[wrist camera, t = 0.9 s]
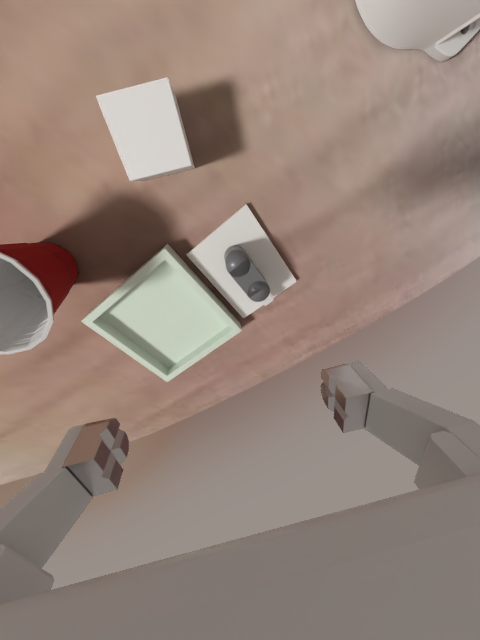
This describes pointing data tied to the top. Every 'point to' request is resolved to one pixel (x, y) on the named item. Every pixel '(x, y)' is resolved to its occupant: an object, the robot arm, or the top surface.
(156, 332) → the tray
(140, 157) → the white cube
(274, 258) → the mat
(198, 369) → the top surface
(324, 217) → the top surface
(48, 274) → the plastic cup
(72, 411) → the top surface
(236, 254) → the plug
